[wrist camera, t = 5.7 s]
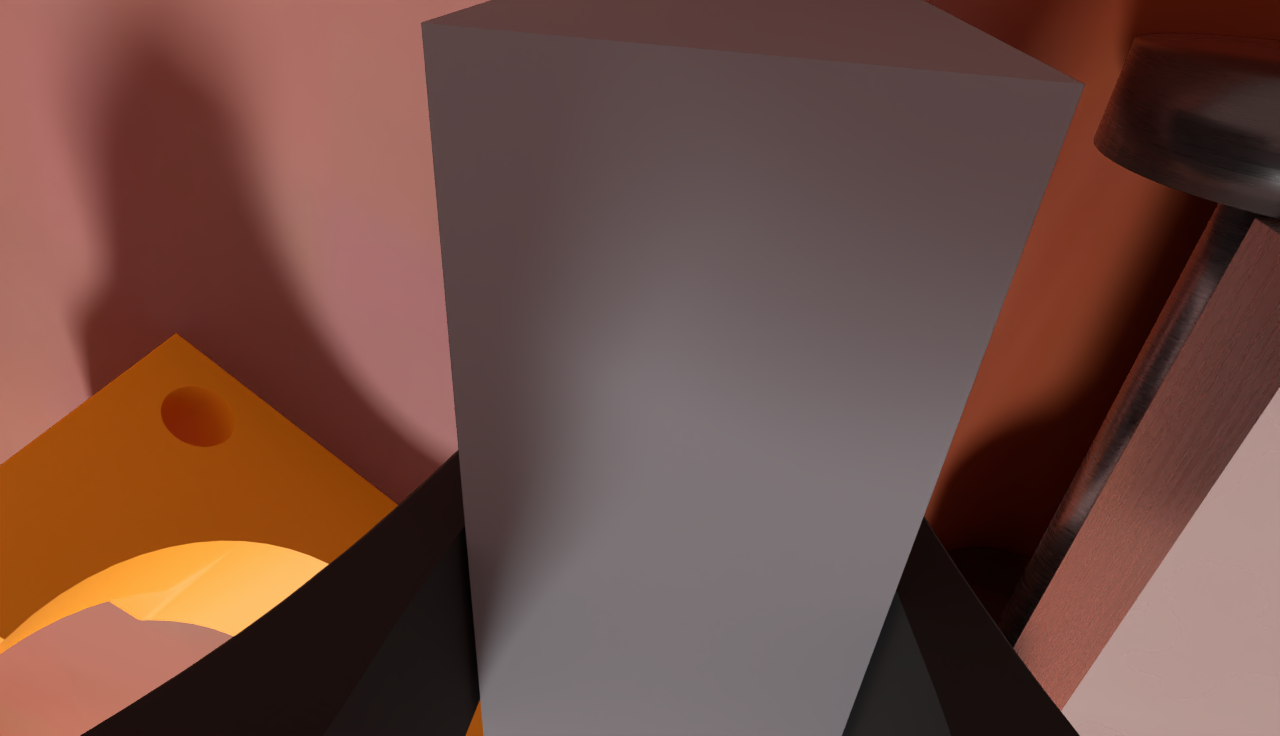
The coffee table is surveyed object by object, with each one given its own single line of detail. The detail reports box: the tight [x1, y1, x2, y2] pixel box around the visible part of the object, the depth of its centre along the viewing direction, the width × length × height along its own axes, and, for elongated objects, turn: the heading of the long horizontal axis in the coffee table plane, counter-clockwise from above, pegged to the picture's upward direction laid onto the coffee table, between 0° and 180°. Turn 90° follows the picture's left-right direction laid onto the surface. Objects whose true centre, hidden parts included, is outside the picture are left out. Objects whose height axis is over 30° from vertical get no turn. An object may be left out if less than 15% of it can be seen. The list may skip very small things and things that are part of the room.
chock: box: [421, 0, 1085, 736], centre depth 9 cm, size 4×11×5 cm, turn 177°
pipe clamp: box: [0, 333, 484, 736], centre depth 16 cm, size 12×4×6 cm, turn 43°
